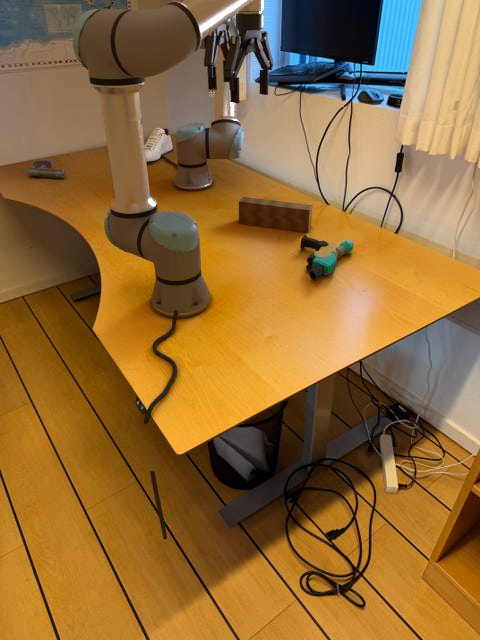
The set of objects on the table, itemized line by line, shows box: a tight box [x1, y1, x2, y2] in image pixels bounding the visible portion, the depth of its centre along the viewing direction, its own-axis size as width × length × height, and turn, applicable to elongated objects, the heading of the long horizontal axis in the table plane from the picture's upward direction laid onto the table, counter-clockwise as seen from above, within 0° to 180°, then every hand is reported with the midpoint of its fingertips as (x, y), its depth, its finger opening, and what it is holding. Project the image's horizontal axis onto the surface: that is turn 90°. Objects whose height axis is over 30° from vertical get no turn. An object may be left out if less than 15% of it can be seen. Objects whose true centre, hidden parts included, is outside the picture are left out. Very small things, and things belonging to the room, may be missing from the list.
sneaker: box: [144, 127, 174, 163], centre depth 224 cm, size 10×29×12 cm, turn 163°
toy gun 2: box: [299, 234, 355, 282], centre depth 140 cm, size 4×26×15 cm
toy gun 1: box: [26, 159, 67, 179], centre depth 208 cm, size 4×19×15 cm
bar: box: [238, 196, 314, 233], centre depth 161 cm, size 24×4×8 cm, turn 71°
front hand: (249, 98), depth 139 cm, fingers open, 13 cm apart
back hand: (220, 85), depth 155 cm, fingers open, 13 cm apart
